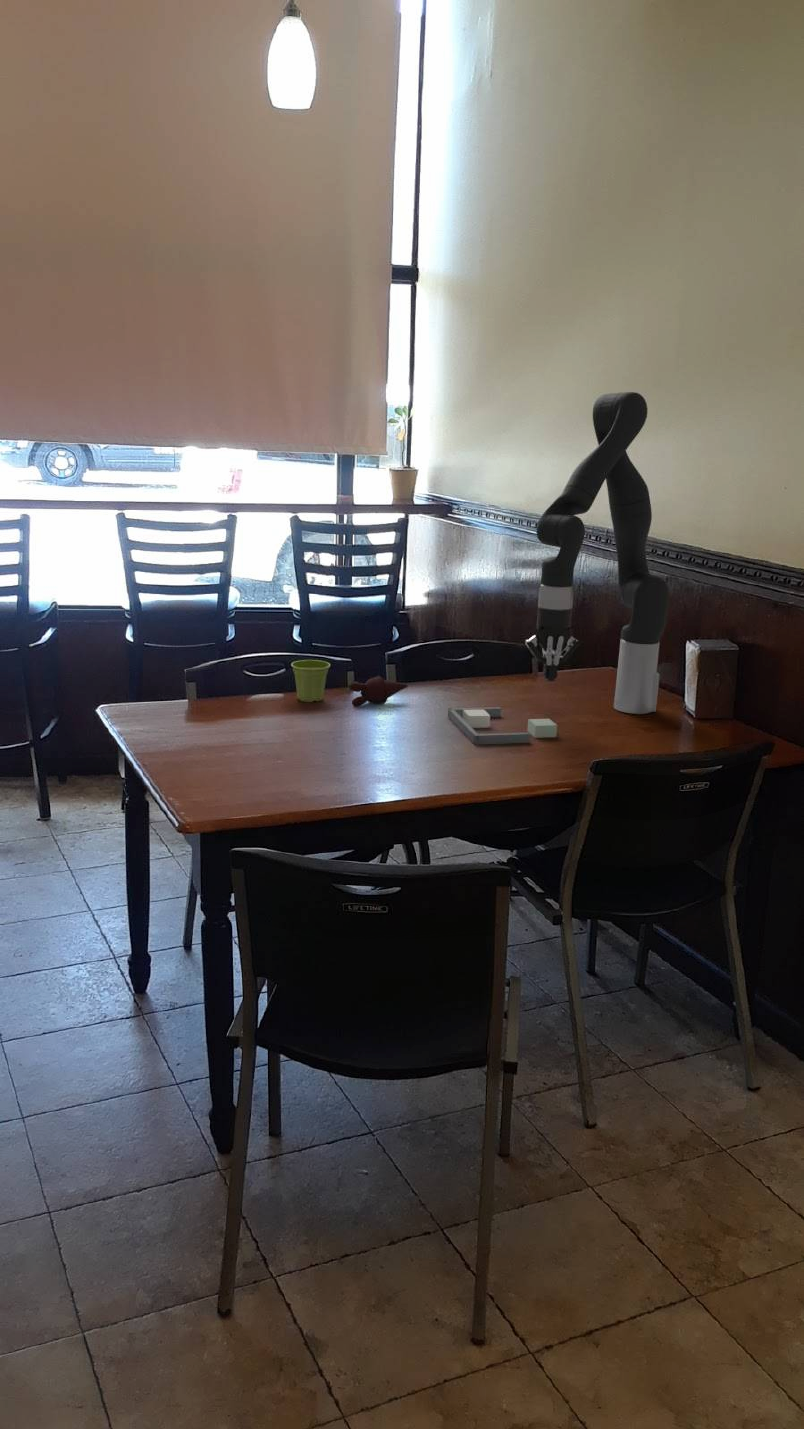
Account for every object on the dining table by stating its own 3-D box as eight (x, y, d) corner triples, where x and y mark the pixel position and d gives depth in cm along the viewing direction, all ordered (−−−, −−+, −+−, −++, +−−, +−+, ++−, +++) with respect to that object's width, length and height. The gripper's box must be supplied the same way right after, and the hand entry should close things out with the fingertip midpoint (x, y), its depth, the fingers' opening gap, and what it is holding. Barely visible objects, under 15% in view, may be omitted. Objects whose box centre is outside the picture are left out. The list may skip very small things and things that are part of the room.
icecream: (398, 671, 273) (342, 680, 267) (411, 670, 267) (354, 680, 261) (403, 699, 274) (346, 709, 268) (415, 699, 267) (358, 710, 261)
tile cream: (483, 722, 258) (484, 709, 257) (489, 728, 253) (490, 715, 252) (462, 722, 256) (463, 709, 256) (468, 728, 252) (468, 716, 251)
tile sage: (548, 731, 253) (549, 718, 252) (555, 738, 248) (557, 725, 247) (527, 731, 251) (528, 719, 251) (534, 738, 247) (535, 725, 246)
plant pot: (284, 701, 266) (284, 666, 264) (299, 692, 275) (299, 657, 272) (321, 706, 264) (322, 670, 261) (335, 696, 272) (336, 662, 270)
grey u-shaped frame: (499, 715, 262) (499, 707, 262) (529, 742, 243) (530, 733, 242) (448, 716, 259) (448, 708, 259) (474, 744, 240) (475, 735, 239)
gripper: (577, 601, 253) (571, 675, 258) (521, 601, 250) (516, 676, 255) (589, 608, 246) (583, 684, 251) (531, 608, 243) (526, 685, 248)
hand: (549, 680), depth 253 cm, fingers closed
